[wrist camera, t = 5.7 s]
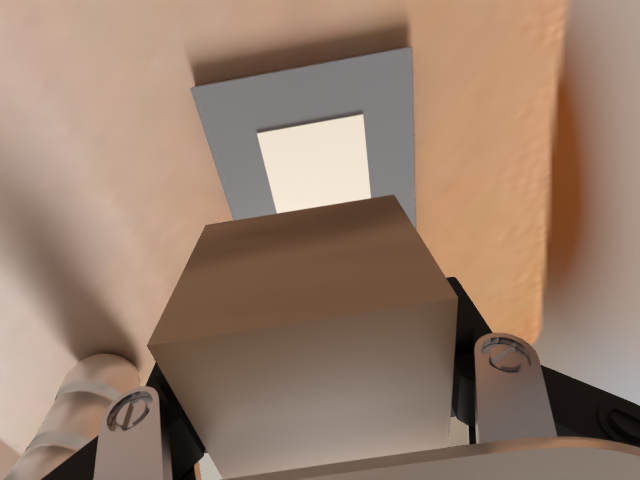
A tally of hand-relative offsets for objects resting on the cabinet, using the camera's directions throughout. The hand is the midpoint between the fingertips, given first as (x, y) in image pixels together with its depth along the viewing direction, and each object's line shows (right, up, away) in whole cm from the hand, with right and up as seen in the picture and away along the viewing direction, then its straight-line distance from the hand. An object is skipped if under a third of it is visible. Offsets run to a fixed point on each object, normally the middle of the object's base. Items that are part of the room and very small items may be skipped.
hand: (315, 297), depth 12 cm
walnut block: (0, 0, +1) cm, 1 cm away
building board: (0, +7, +14) cm, 16 cm away
